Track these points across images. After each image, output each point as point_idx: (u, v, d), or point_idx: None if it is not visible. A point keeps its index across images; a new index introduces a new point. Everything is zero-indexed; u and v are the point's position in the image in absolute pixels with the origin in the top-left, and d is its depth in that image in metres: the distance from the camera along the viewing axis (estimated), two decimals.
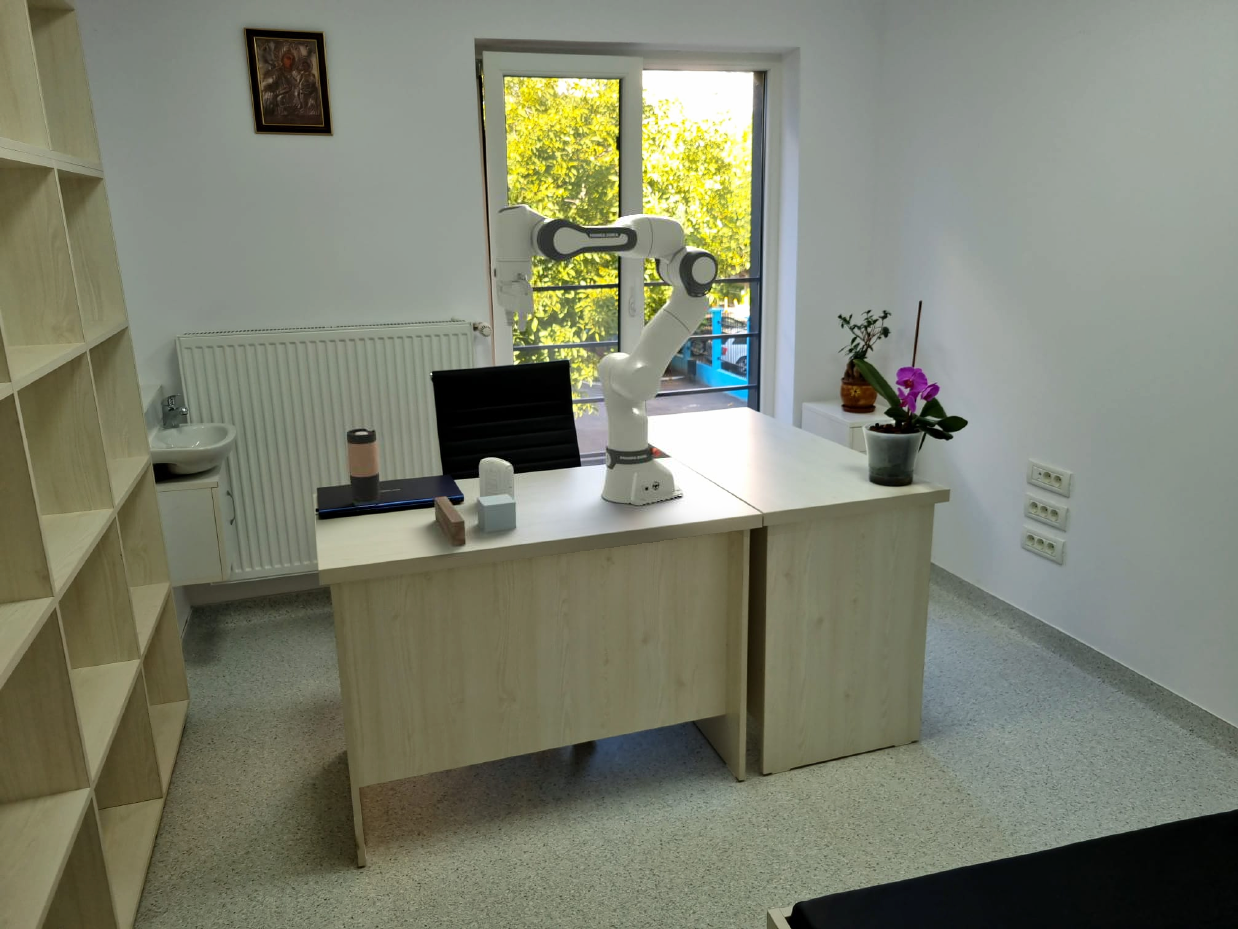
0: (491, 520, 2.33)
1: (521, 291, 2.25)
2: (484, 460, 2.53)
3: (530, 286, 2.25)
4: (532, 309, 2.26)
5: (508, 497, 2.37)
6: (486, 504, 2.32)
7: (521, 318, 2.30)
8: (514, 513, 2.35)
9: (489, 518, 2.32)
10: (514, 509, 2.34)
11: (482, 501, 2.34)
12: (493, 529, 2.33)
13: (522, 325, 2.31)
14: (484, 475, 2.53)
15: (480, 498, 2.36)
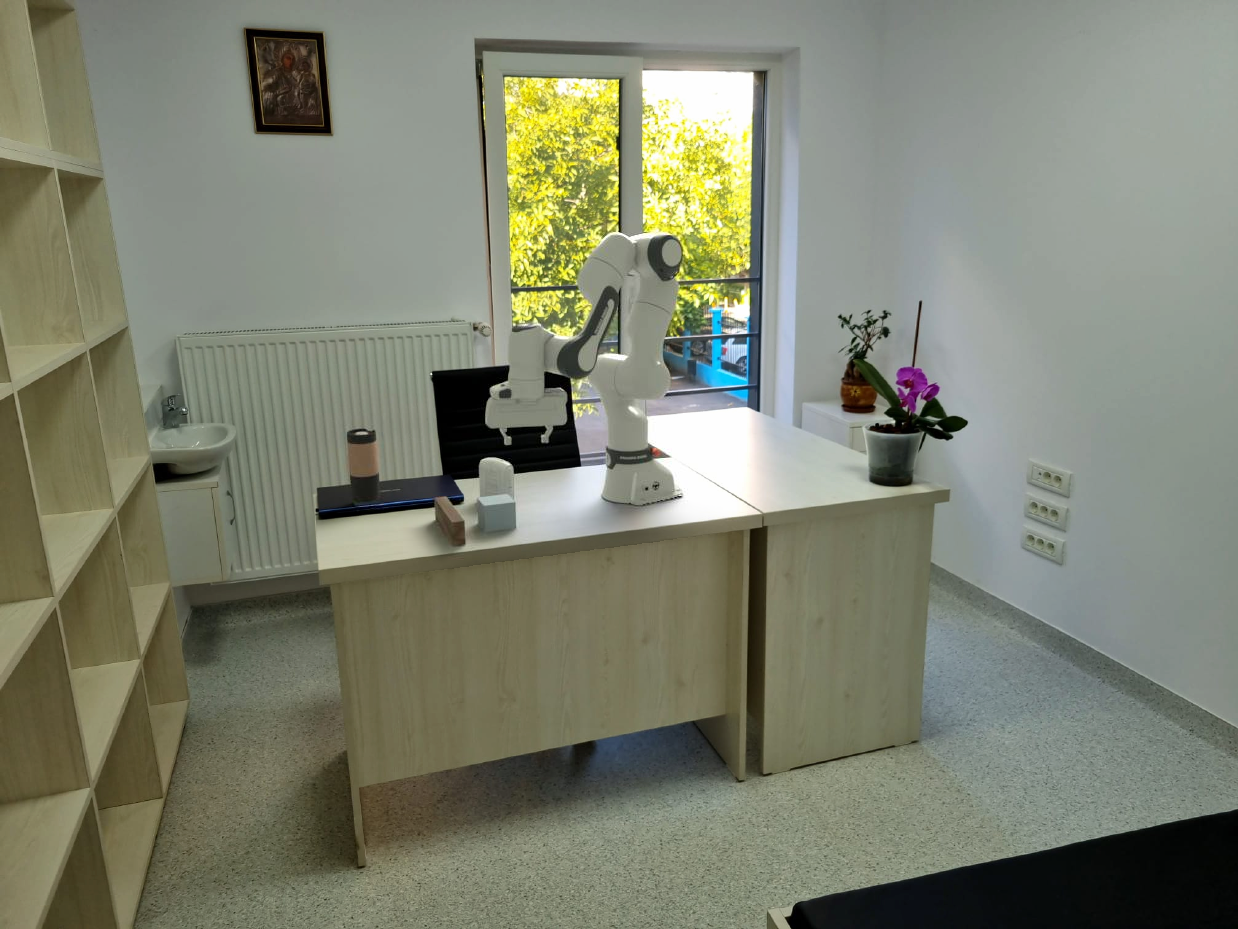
0: (491, 520, 2.33)
1: (564, 403, 2.35)
2: (484, 460, 2.53)
3: None
4: None
5: (508, 497, 2.37)
6: (486, 504, 2.32)
7: None
8: (514, 513, 2.35)
9: (489, 518, 2.32)
10: (514, 509, 2.34)
11: (482, 501, 2.34)
12: (493, 529, 2.33)
13: None
14: (484, 475, 2.53)
15: (480, 498, 2.36)
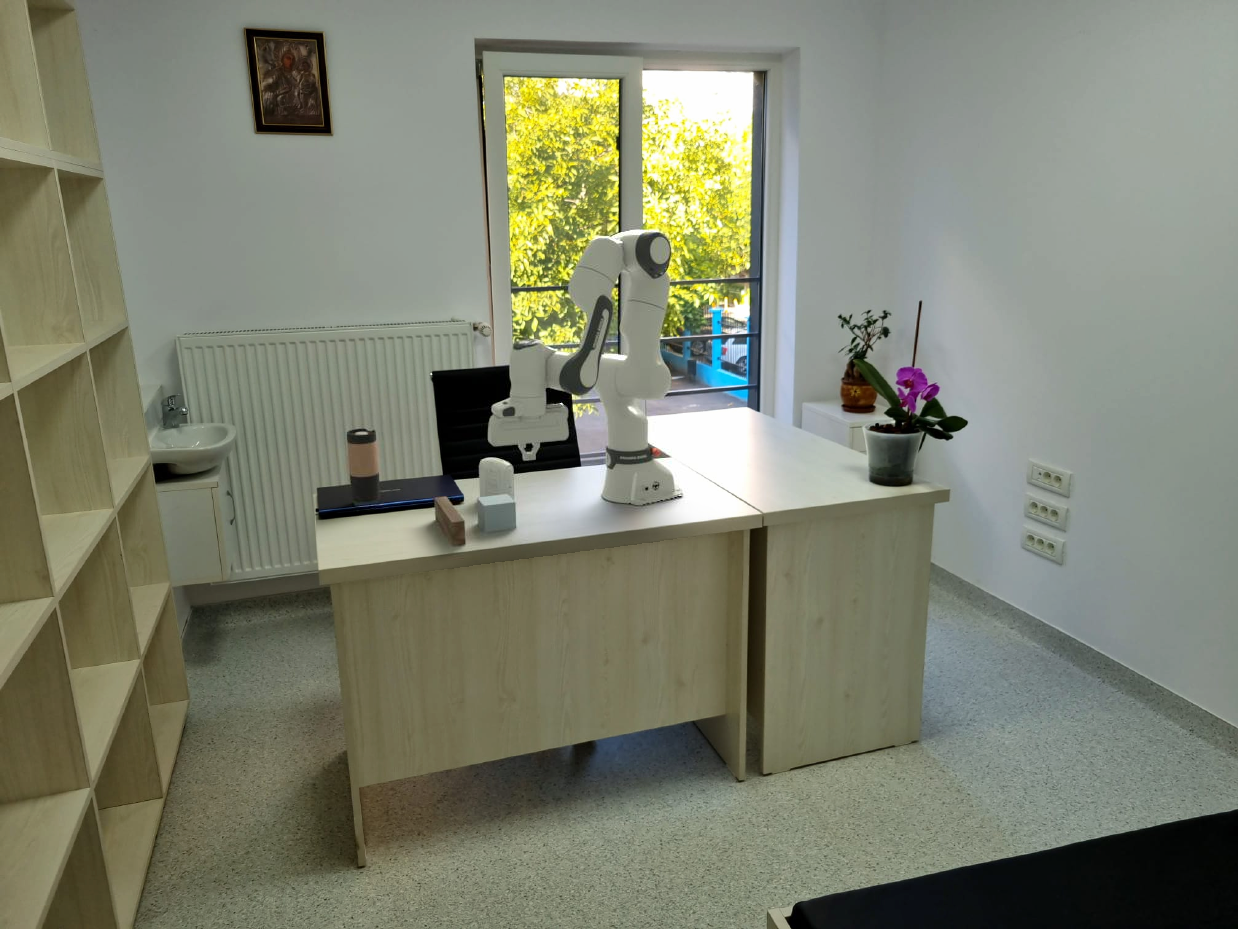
0: (491, 520, 2.33)
1: (566, 418, 2.36)
2: (484, 460, 2.53)
3: None
4: None
5: (508, 497, 2.37)
6: (486, 504, 2.32)
7: None
8: (514, 513, 2.35)
9: (489, 518, 2.32)
10: (514, 509, 2.34)
11: (482, 501, 2.34)
12: (493, 529, 2.33)
13: None
14: (484, 475, 2.53)
15: (480, 498, 2.36)
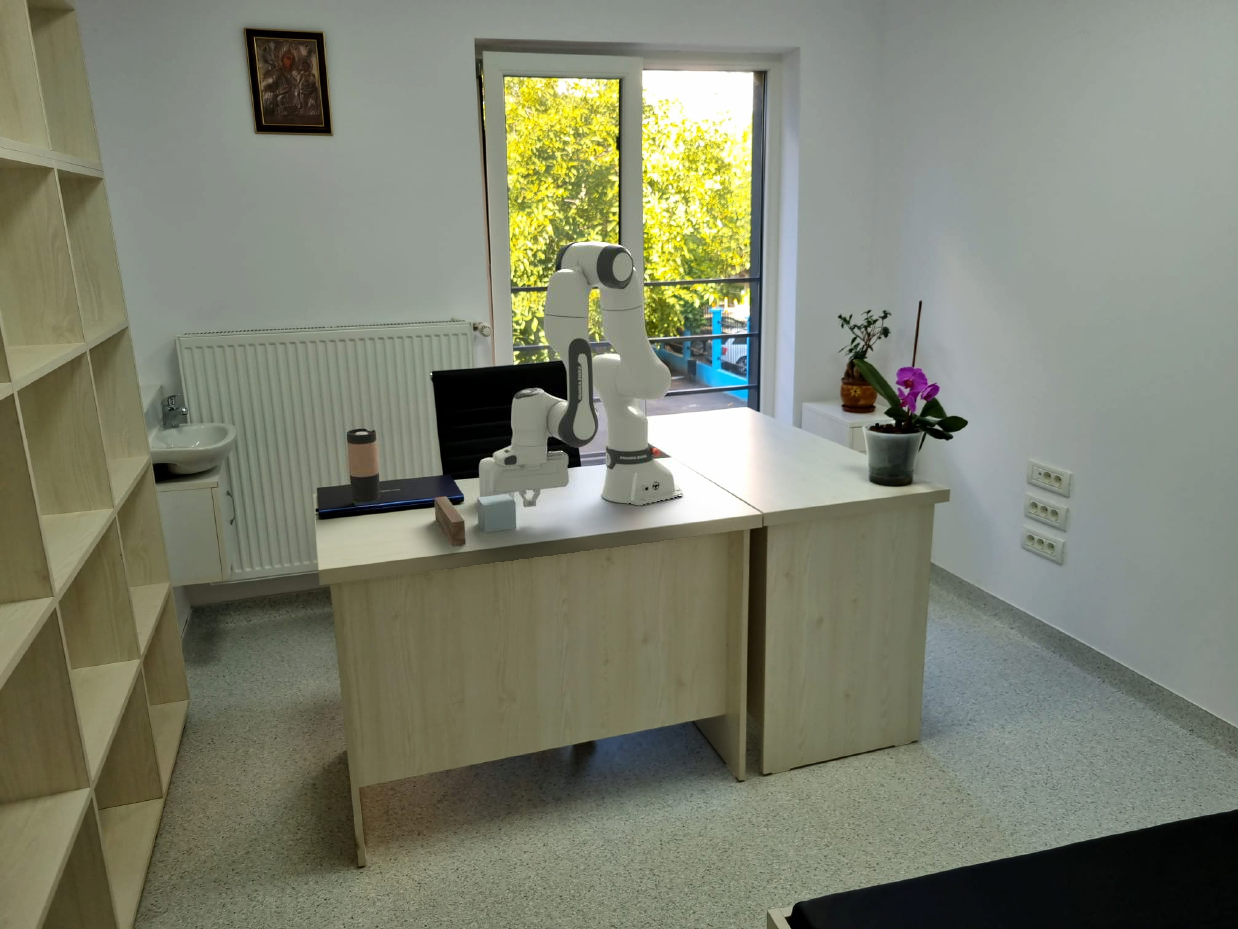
0: (492, 520, 2.33)
1: (566, 465, 2.39)
2: (484, 460, 2.53)
3: None
4: None
5: (508, 497, 2.37)
6: (486, 504, 2.32)
7: None
8: (514, 513, 2.35)
9: (489, 518, 2.32)
10: (514, 509, 2.34)
11: (482, 501, 2.34)
12: (493, 529, 2.33)
13: None
14: (484, 475, 2.53)
15: (480, 498, 2.36)
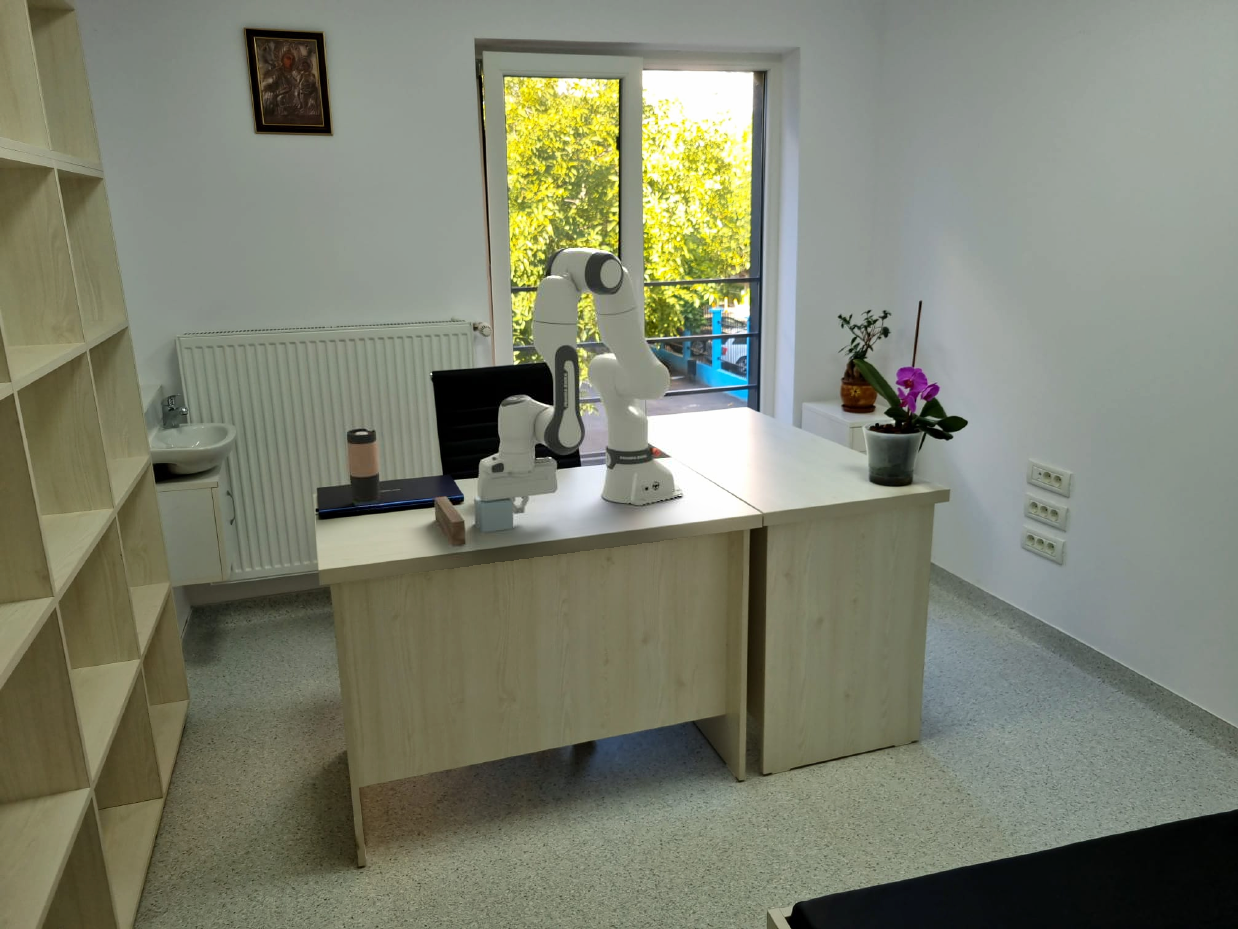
0: (489, 520, 2.32)
1: None
2: None
3: None
4: None
5: None
6: (483, 504, 2.32)
7: None
8: (511, 513, 2.34)
9: (486, 518, 2.32)
10: (511, 509, 2.34)
11: (479, 501, 2.34)
12: (490, 529, 2.33)
13: None
14: None
15: (477, 498, 2.36)
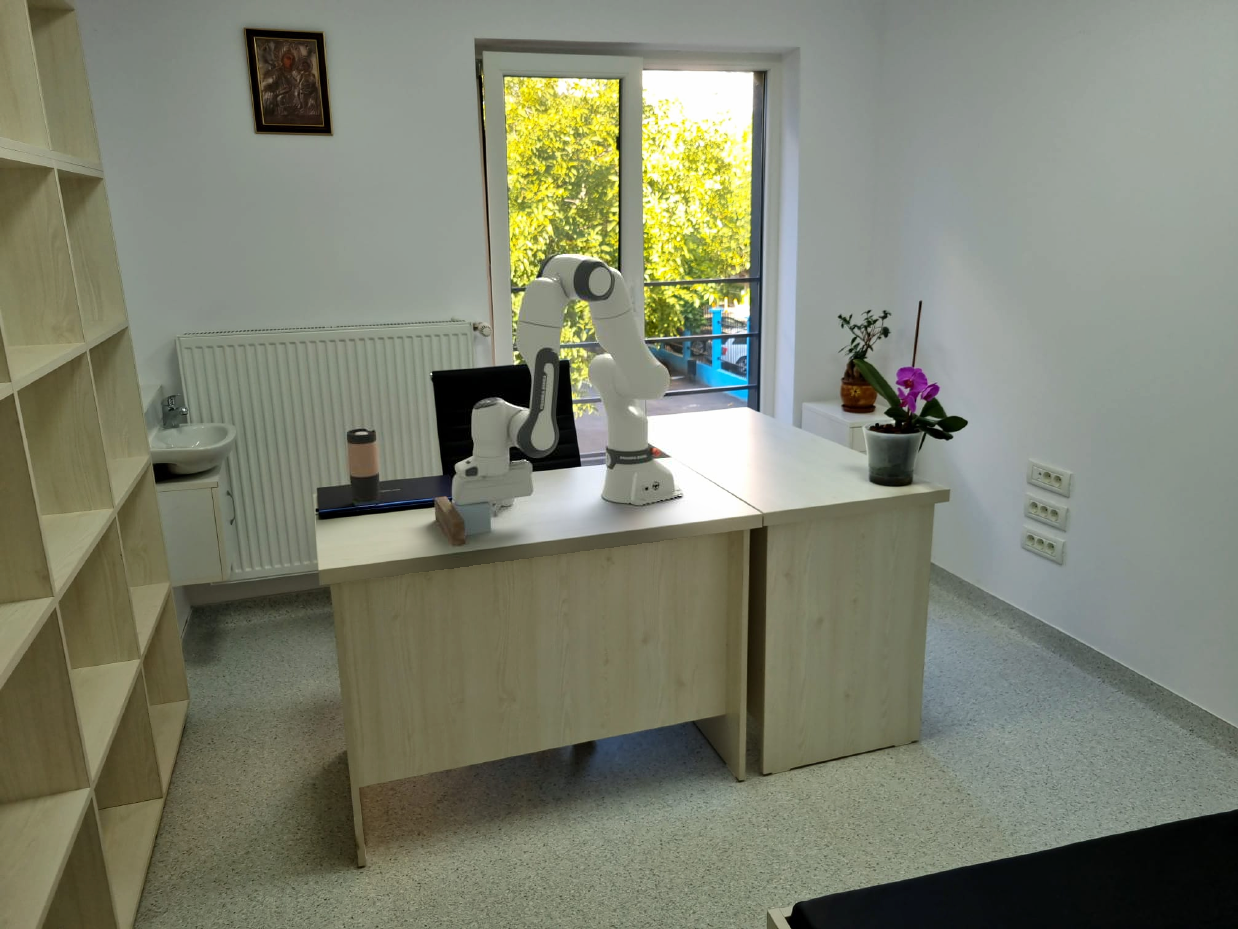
0: (466, 523, 2.30)
1: (530, 474, 2.36)
2: None
3: None
4: None
5: None
6: (460, 507, 2.30)
7: None
8: (489, 516, 2.32)
9: None
10: (489, 512, 2.32)
11: (456, 504, 2.32)
12: (467, 532, 2.31)
13: None
14: None
15: None
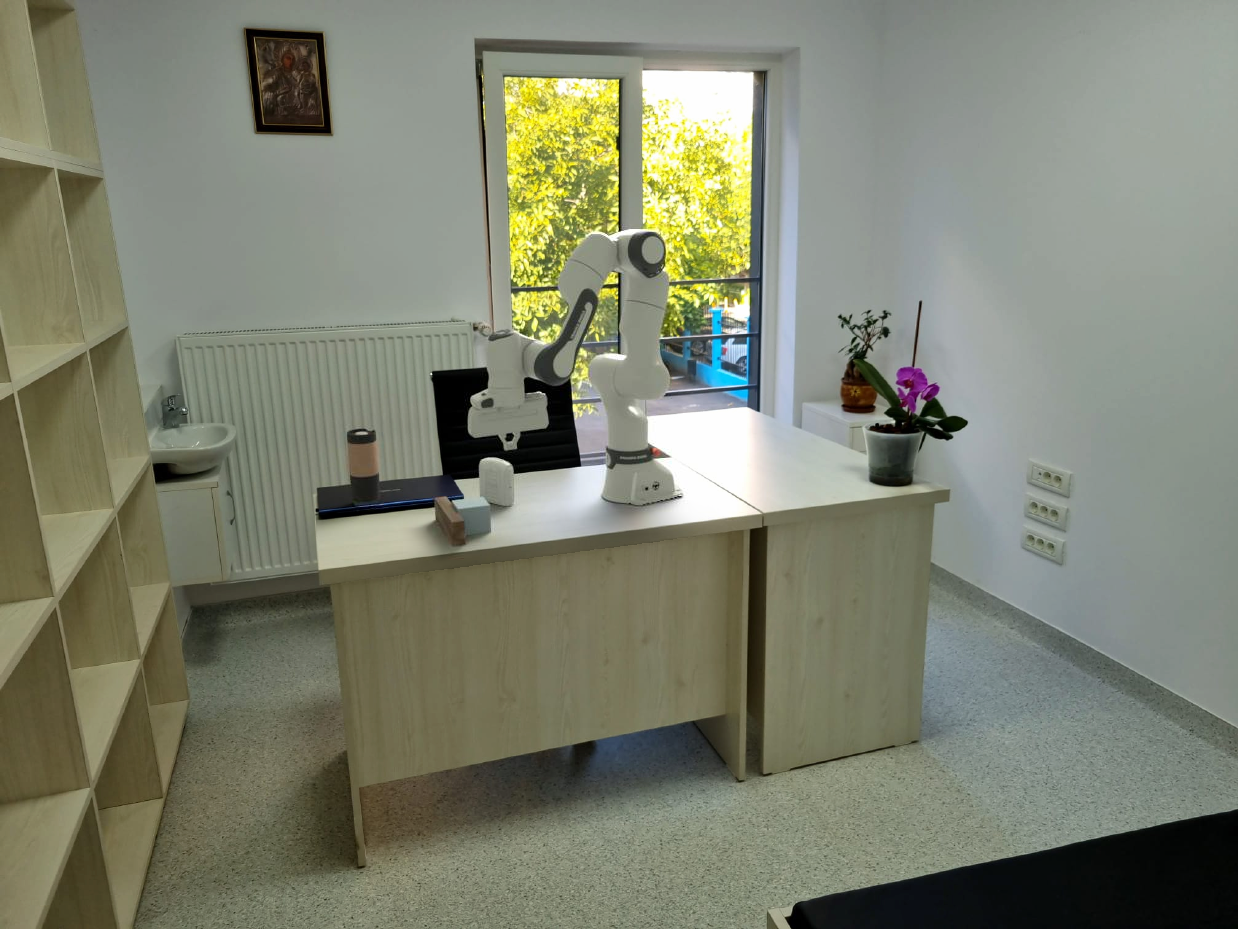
0: (466, 523, 2.30)
1: (545, 406, 2.37)
2: (484, 460, 2.53)
3: None
4: None
5: (483, 500, 2.35)
6: (460, 507, 2.30)
7: None
8: (489, 516, 2.32)
9: None
10: (489, 512, 2.32)
11: (456, 504, 2.32)
12: (467, 532, 2.31)
13: None
14: (484, 475, 2.53)
15: (455, 501, 2.34)
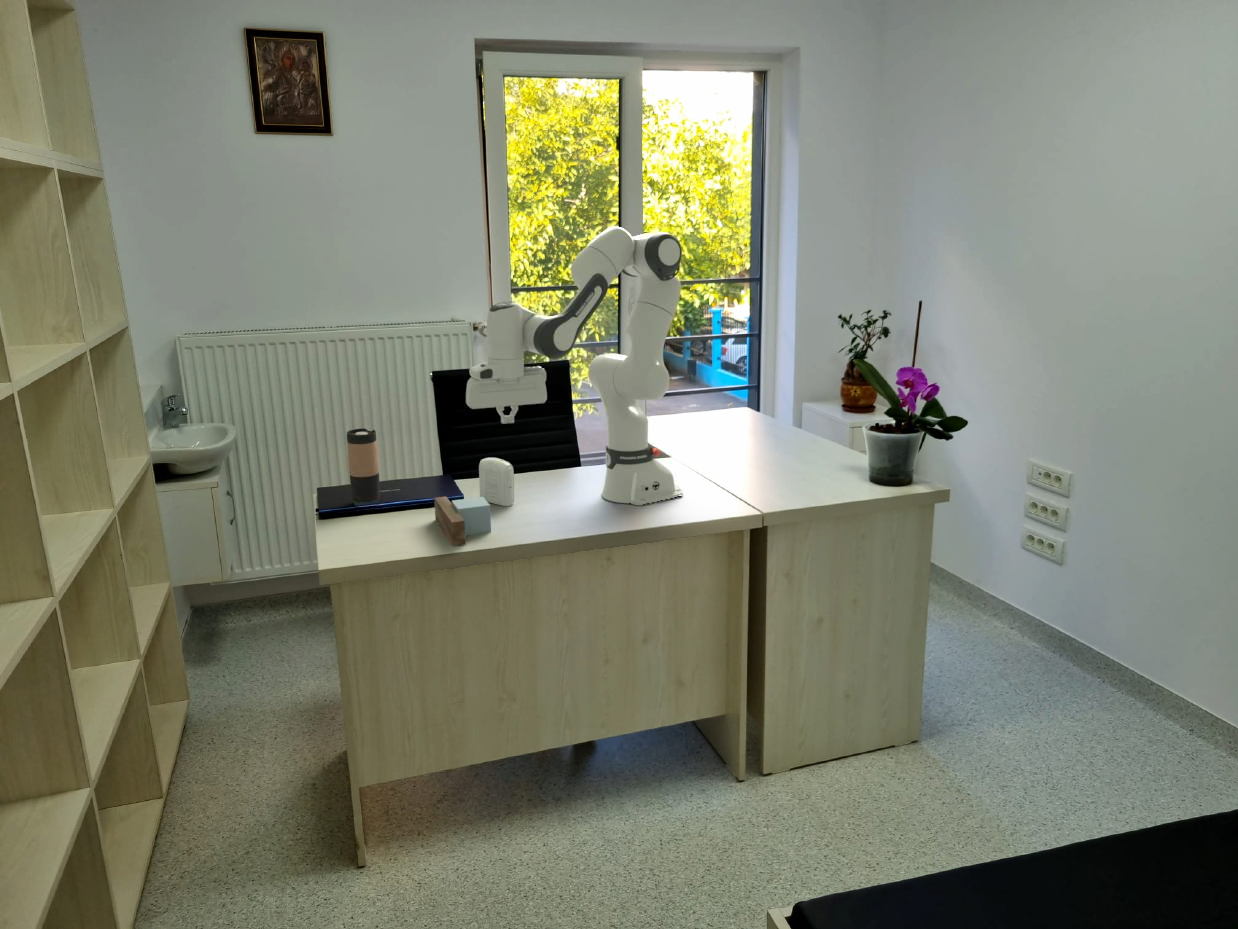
0: (466, 523, 2.30)
1: (544, 381, 2.36)
2: (484, 460, 2.53)
3: None
4: None
5: (483, 500, 2.35)
6: (460, 507, 2.30)
7: None
8: (489, 516, 2.32)
9: None
10: (489, 512, 2.32)
11: (456, 504, 2.32)
12: (467, 532, 2.31)
13: None
14: (484, 475, 2.53)
15: (455, 501, 2.34)
